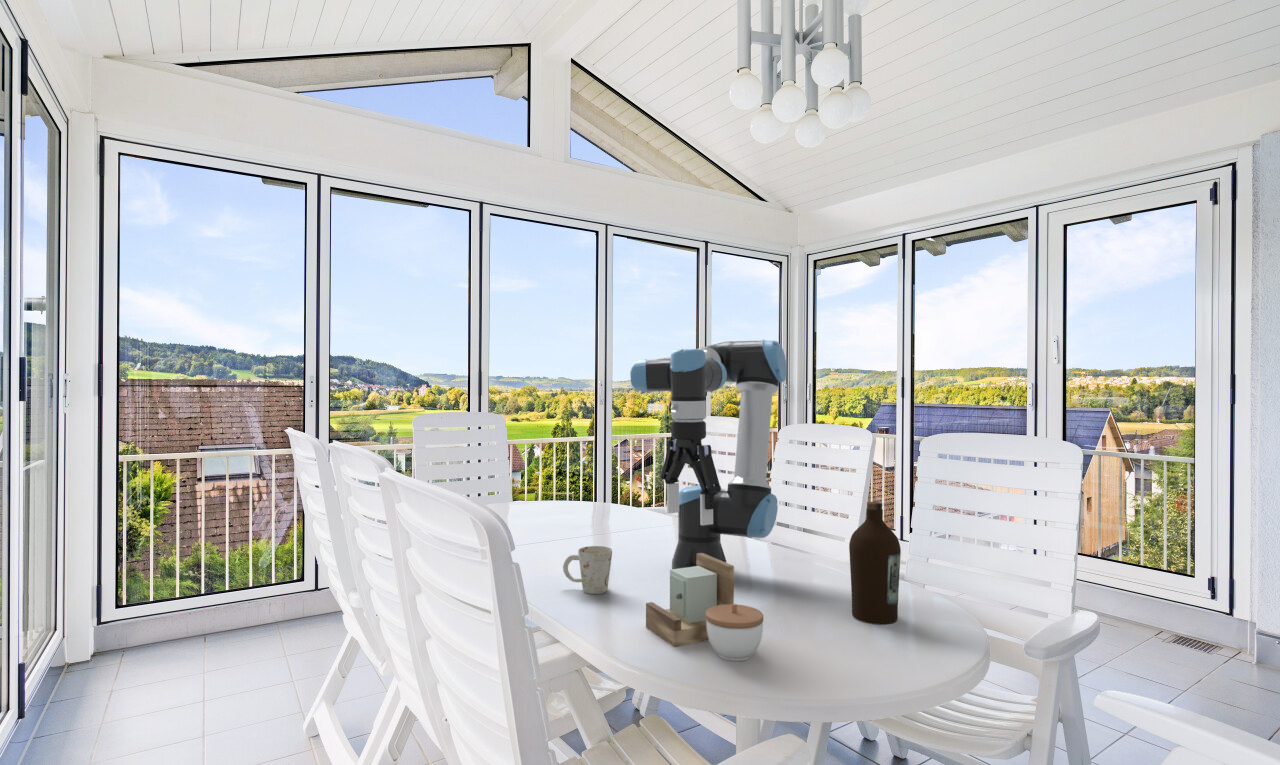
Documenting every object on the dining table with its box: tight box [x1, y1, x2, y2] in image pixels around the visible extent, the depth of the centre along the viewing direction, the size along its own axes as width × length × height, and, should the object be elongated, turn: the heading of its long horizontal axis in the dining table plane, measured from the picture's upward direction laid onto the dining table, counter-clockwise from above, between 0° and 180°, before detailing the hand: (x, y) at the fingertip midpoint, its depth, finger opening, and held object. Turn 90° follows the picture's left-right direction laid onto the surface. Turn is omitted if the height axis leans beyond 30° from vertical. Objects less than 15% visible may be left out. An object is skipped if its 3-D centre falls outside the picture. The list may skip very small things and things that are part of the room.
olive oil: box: [848, 501, 902, 625], centre depth 146 cm, size 11×11×25 cm
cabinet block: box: [669, 566, 717, 624], centre depth 137 cm, size 8×7×9 cm
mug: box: [562, 545, 613, 595], centre depth 165 cm, size 8×13×10 cm, turn 78°
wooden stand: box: [645, 553, 735, 648], centre depth 137 cm, size 14×12×14 cm
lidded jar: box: [706, 603, 764, 662], centre depth 125 cm, size 11×11×9 cm
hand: (689, 518), depth 145 cm, fingers open, 13 cm apart
